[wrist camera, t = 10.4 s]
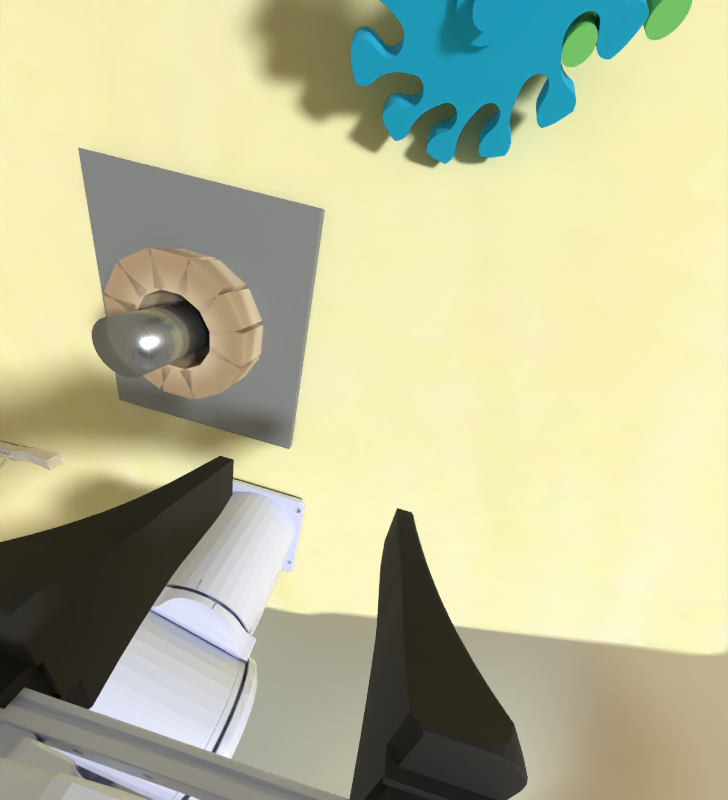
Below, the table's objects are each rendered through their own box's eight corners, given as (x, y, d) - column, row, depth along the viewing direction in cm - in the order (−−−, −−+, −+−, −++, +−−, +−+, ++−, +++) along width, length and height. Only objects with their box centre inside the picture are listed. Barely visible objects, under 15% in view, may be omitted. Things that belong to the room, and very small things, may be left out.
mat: (291, 445, 24) (288, 449, 23) (125, 397, 24) (119, 399, 24) (324, 210, 16) (321, 208, 16) (87, 150, 17) (78, 147, 17)
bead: (258, 396, 22) (239, 412, 19) (147, 365, 22) (116, 377, 20) (267, 270, 18) (245, 272, 16) (133, 235, 18) (93, 232, 16)
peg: (222, 350, 21) (153, 384, 15) (181, 338, 21) (98, 368, 15) (222, 305, 19) (146, 326, 14) (178, 293, 19) (86, 309, 14)
